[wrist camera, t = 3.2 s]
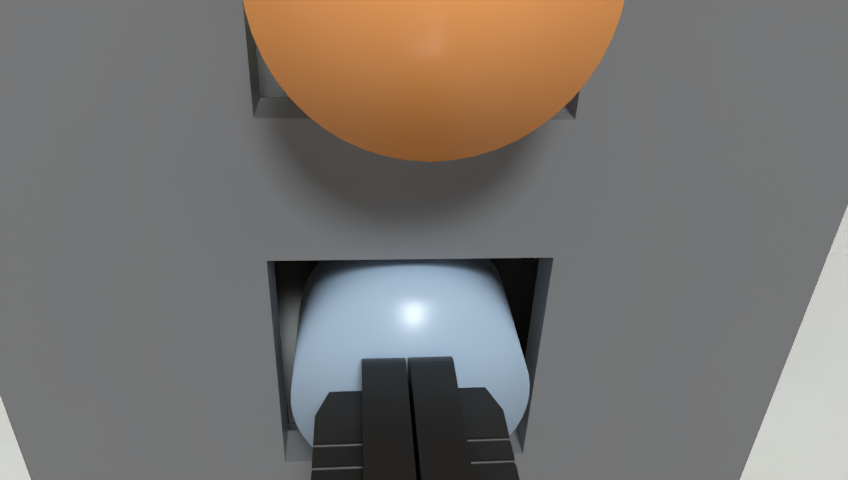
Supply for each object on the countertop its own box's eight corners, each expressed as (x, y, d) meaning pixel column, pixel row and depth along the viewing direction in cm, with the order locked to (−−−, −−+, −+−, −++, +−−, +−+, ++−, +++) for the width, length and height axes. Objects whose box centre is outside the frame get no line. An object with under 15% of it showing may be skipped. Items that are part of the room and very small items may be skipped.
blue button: (515, 223, 13) (543, 301, 11) (496, 385, 16) (516, 476, 13) (294, 224, 13) (282, 305, 11) (305, 390, 15) (297, 483, 13)
